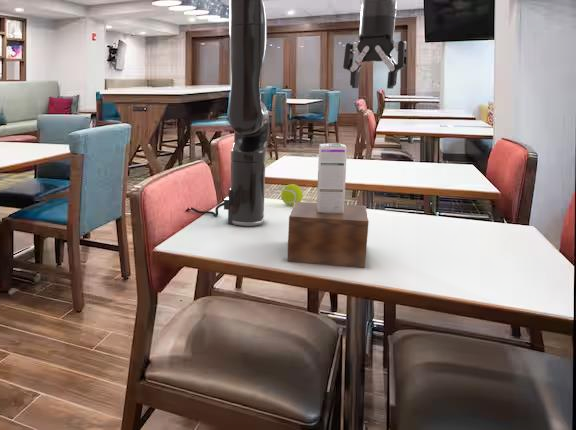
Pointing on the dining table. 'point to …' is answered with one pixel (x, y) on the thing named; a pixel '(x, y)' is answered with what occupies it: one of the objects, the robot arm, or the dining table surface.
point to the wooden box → (328, 235)
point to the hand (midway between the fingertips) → (372, 88)
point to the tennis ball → (291, 194)
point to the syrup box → (331, 178)
